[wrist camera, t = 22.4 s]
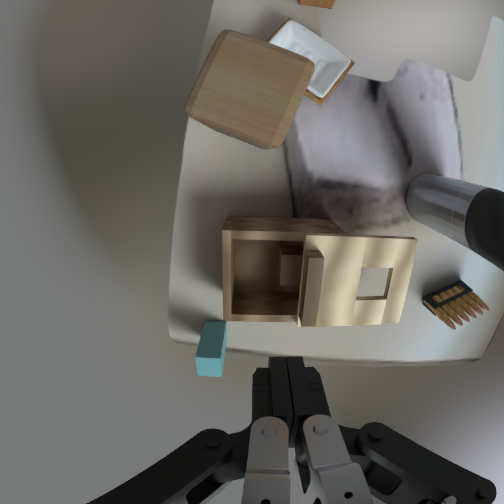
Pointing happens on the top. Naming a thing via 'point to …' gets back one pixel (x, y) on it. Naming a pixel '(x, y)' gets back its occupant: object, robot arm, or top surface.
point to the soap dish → (314, 58)
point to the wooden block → (249, 89)
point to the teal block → (211, 349)
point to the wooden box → (265, 266)
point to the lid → (352, 279)
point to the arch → (318, 3)
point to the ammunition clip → (454, 303)
